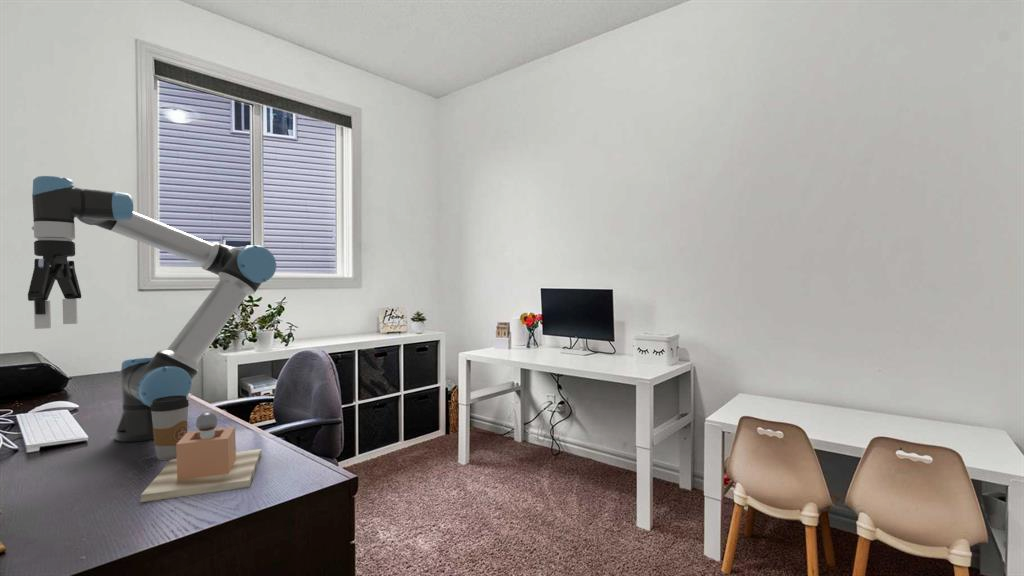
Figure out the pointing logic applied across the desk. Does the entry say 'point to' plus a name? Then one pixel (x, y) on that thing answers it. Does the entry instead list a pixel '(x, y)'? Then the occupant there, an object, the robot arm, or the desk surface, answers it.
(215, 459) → the open top tan bin
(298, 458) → the desk surface
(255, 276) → the robot arm
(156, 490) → the wooden peg stand
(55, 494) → the desk surface
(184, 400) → the coffee cup
